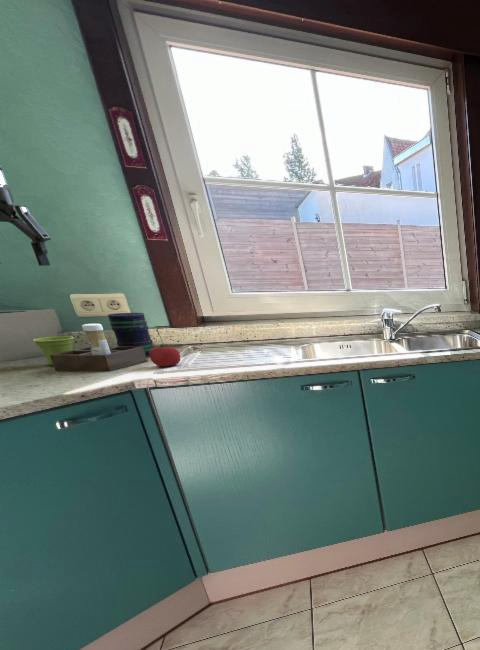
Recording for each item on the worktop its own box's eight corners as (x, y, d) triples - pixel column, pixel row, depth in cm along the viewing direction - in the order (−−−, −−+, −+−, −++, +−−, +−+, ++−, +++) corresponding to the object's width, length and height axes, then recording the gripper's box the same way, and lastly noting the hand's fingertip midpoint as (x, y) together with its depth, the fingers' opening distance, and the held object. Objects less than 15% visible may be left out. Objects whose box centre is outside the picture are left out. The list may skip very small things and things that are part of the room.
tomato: (154, 364, 168) (147, 343, 165) (183, 362, 172) (177, 342, 170) (151, 369, 162) (144, 347, 159) (182, 366, 166) (175, 345, 164)
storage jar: (163, 354, 184) (151, 313, 179) (135, 359, 175) (121, 316, 170) (143, 352, 186) (130, 312, 181) (114, 357, 177) (99, 314, 172)
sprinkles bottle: (92, 366, 160) (77, 324, 155) (107, 363, 164) (93, 323, 159) (104, 367, 159) (89, 325, 154) (119, 364, 164) (105, 323, 159)
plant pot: (36, 368, 160) (25, 341, 157) (52, 362, 168) (42, 336, 164) (74, 366, 163) (64, 340, 160) (88, 360, 171) (79, 335, 168)
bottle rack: (55, 370, 157) (49, 355, 155) (97, 360, 172) (92, 346, 170) (110, 371, 159) (104, 355, 157) (147, 361, 173) (142, 346, 171)
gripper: (49, 189, 145) (76, 265, 153) (-45, 186, 143) (-13, 263, 151) (24, 186, 139) (54, 266, 146) (-75, 182, 136) (-40, 264, 144)
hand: (20, 265), depth 149 cm, fingers open, 13 cm apart
